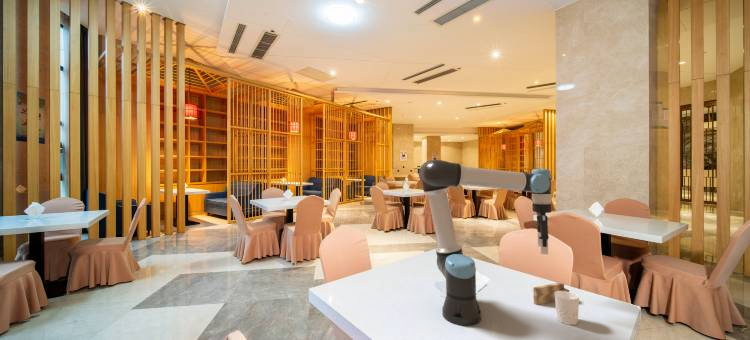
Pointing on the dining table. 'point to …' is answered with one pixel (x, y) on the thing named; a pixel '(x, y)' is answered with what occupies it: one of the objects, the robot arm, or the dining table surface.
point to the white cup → (567, 307)
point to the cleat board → (547, 292)
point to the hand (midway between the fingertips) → (542, 250)
